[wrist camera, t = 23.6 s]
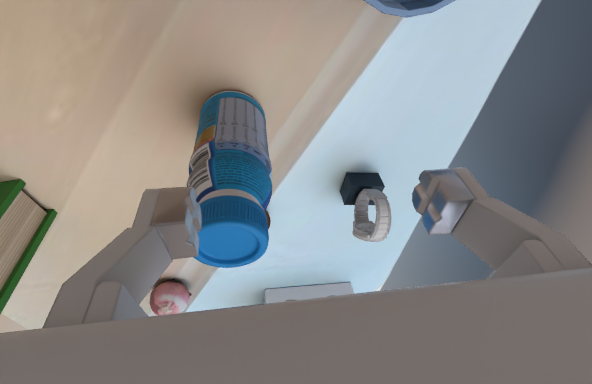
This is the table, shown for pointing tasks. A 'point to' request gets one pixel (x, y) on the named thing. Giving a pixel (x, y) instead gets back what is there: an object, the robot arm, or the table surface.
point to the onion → (169, 298)
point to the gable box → (307, 292)
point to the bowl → (408, 6)
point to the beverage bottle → (231, 180)
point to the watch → (361, 194)
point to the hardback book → (18, 234)
